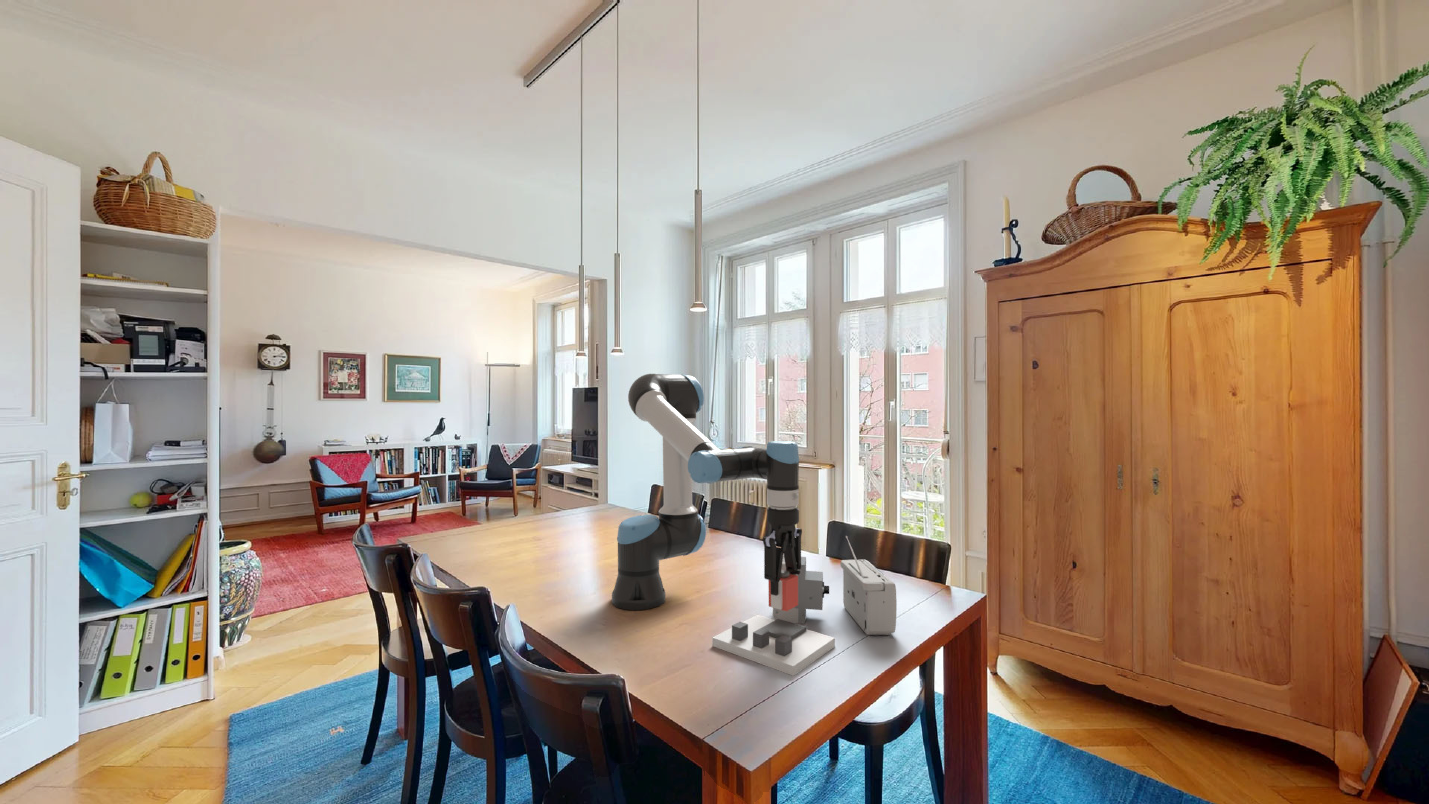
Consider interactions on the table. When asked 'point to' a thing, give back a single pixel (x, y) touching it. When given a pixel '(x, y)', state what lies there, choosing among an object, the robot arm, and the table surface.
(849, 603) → the stereo radio cassette player
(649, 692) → the table surface
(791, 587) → the cap
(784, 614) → the circuit breaker
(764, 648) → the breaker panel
